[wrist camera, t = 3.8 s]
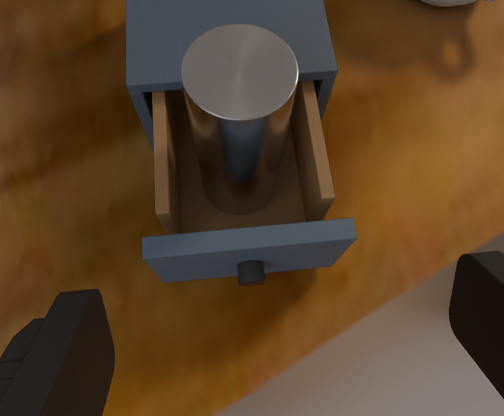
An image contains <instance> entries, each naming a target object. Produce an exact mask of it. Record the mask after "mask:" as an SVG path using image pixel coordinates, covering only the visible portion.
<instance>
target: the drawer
mask: <svg viewBox="0 0 504 416" xmlns="http://www.w3.org/2000/svg"><path fill="white" fill-rule="evenodd" d="M152 105H153V141H154V177H155V213H156V215H157V217H158V218H159V220H160V222H161V224H162V226H163V228H164V229H165V231H166V233H167V235H161V236H150V237H142V259H143V260H144V261H145V262H146V263H147V264H148V265H149V266H150V268H151V269H152V270H153V271H154V272H155V273H156V274H157V275H158V276H159V277H160V279H161V280H162V281H163V282H164V283H169V282H179V281H189V280H199V279H209V278H220V277H230V276H238V283H239V285H242V286H250V285H258V284H262V283H264V282H265V273H270V272H280V271H290V270H300V269H310V268H320V267H330V266H332V265H333V264H334V263H335V261H336V260H337V259H338V258H339V257H340V256H341V255H342V254H343V253H344V252H345V251H346V250H347V248H348V247H349V246H350V245H351V244H352V243H353V242H354V241H355V240H356V239H357V235H356V231H355V226H354V221H353V218H345V219H334V220H323V218H324V216H325V215H326V213H327V211H328V209H329V208H330V206H331V204H332V202H333V201H334V199H335V194H334V188H333V183H332V178H331V172H330V167H329V162H328V157H327V151H326V146H325V141H324V135H323V130H322V125H321V120H320V114H319V109H318V104H317V98H316V93H315V88H314V82H313V80H308V81H298V83H297V88H296V92H295V97H294V102H293V107H292V112H291V117H290V122H289V127H288V131H287V136H286V141H285V146H284V151H283V156H282V161H281V165H280V170H279V175H278V180H277V185H276V190H275V193H274V195H273V197H272V199H271V200H270V202H269V203H268V204H267V205H266V206H265V207H264V208H262V209H261V210H259V211H257V212H255V213H252V214H249V215H241V216H238V215H231V214H227V213H224V212H222V211H220V210H219V209H217V208H216V207H215V206H213V205H212V204H211V202H210V201H209V200H208V198H207V197H206V194H205V192H204V189H203V184H202V179H201V174H200V169H199V164H198V159H197V154H196V149H195V144H194V139H193V135H192V130H191V125H190V120H189V115H188V110H187V105H186V100H185V95H184V90H183V89H181V90H167V91H153V92H152ZM322 220H323V221H322Z"/></svg>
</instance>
